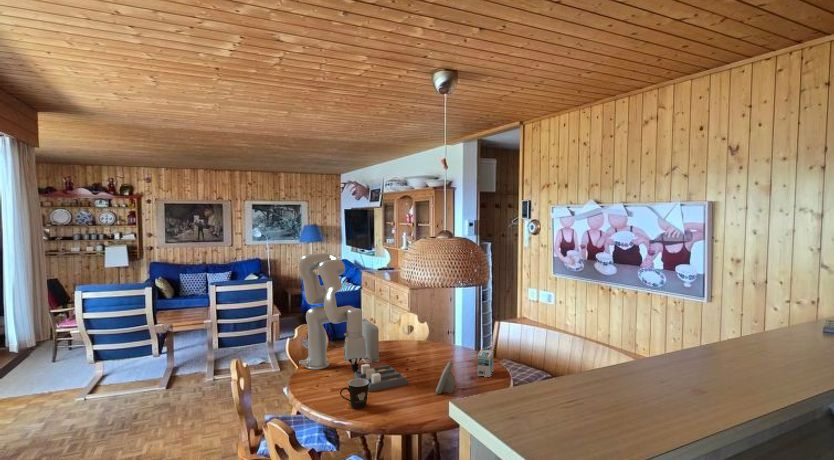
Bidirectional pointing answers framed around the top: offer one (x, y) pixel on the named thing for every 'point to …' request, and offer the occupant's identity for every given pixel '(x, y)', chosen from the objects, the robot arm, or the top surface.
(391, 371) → the switch panel
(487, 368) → the light bulb box
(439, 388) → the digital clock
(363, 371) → the far tab
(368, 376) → the middle tab
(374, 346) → the network device
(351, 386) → the coffee mug
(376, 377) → the near tab
